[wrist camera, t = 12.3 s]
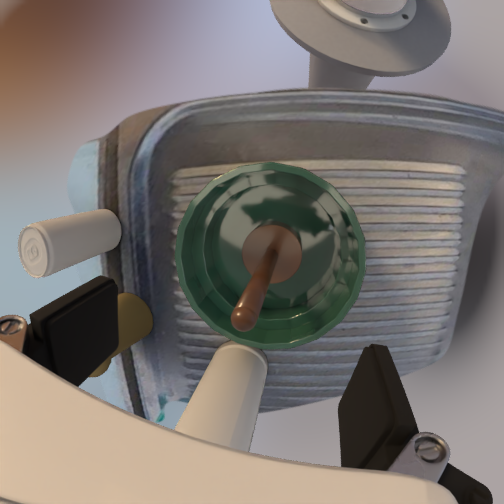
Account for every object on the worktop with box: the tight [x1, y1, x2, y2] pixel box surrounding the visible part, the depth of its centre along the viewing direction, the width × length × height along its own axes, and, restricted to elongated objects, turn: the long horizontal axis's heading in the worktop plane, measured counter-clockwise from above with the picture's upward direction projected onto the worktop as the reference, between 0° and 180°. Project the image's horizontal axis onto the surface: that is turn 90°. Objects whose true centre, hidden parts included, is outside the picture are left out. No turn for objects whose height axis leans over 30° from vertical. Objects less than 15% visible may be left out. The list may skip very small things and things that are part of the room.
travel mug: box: [174, 341, 268, 452], centre depth 23 cm, size 6×7×20 cm
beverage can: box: [18, 209, 121, 278], centre depth 25 cm, size 5×5×12 cm
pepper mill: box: [89, 293, 153, 377], centre depth 28 cm, size 6×6×11 cm
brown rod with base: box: [231, 221, 302, 332], centre depth 20 cm, size 5×5×16 cm
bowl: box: [175, 162, 366, 349], centre depth 26 cm, size 15×15×6 cm
